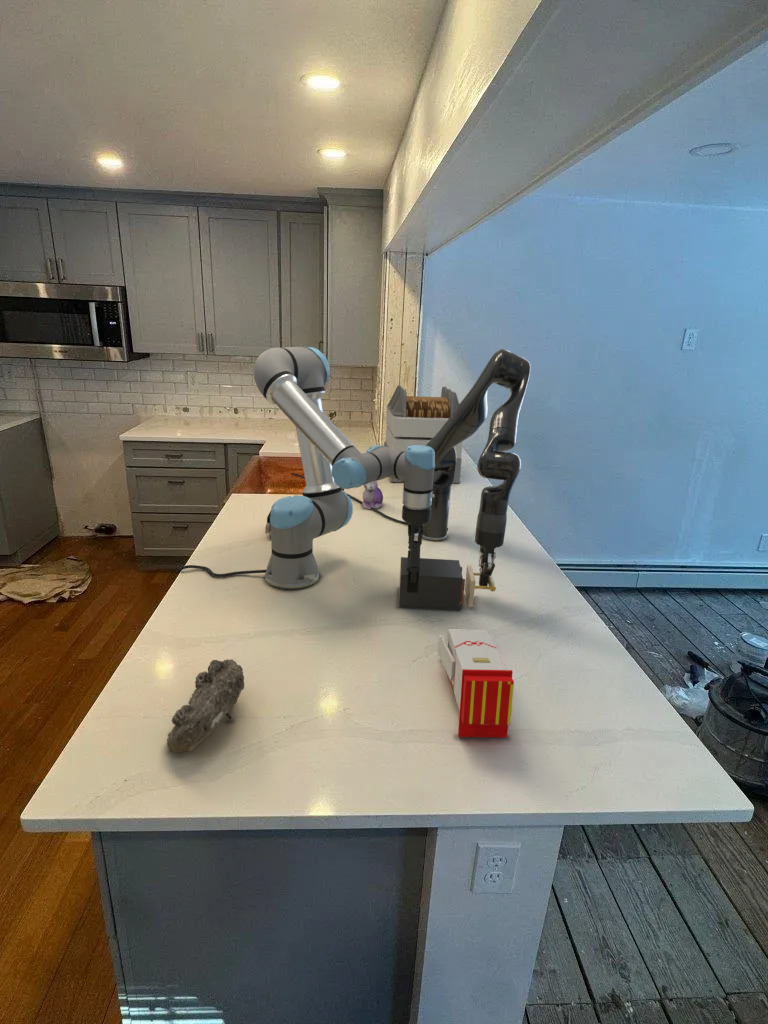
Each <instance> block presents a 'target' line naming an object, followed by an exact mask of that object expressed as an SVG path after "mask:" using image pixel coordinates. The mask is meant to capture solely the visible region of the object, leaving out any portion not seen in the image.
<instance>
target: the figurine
mask: <svg viewBox="0 0 768 1024" xmlns="http://www.w3.org/2000/svg"><path fill="white" fill-rule="evenodd" d="M378 485H379V484H378V480H377V481H374V482H370V483H367V484H364V485H363V488H364V491H363V493H362V500H363V501H362V502H363V504H361V505H362V507H363V509H366V510H372V509H371V507H373V508H374V509H378V508H381V507H382V506H383V501H384V496H383V495H384V494H383V492H382V490H381V489H380V488H379V487H378Z"/></svg>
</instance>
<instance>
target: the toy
mask: <svg viewBox="0 0 768 1024" xmlns="http://www.w3.org/2000/svg"><path fill="white" fill-rule="evenodd" d="M446 640H447V643H446V641H445V639H444V636H443V635H442V634H439V637H438V646H437V656H438V657H439V659H440V661H441V663H442V666H443V668H444V670H445V672H446V674H447V677H448V679H449V681H450V684H451V687H452V690H453V693H454V697H455V701H456V705H457V708H458V711H459V714H458V715H459V716H458V730H457V731H458V732H457V737H458V738H508V731H509V726H510V725H511V717H512V707H513V697H514V696H513V695H514V684H515V680H514V679H513V673H514V671H513V670H512V669H508V667H507V665H506V662H505V661H504V659H503V658H502V655H501V653H500V651H499V649H498V647H497V643H496V639H495V637H494V635H493V634H491V632H490V631H489V629H467V628H466V629H465V628H463V629H461V628H460V629H459V628H448V630H447V639H446Z"/></svg>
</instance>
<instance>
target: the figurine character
mask: <svg viewBox="0 0 768 1024" xmlns="http://www.w3.org/2000/svg"><path fill="white" fill-rule="evenodd" d="M270 516H271V510H269V512H268V515H267V517H266V524H265V533H266V534H269V536H270V538H271V523H270Z"/></svg>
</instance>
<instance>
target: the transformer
mask: <svg viewBox="0 0 768 1024" xmlns="http://www.w3.org/2000/svg"><path fill="white" fill-rule="evenodd" d="M440 393H441V394H440V396H415V395H414V396H413V395H412V396H411V395H407V394H408V393H407V390H406V389H404V388H403V387H402V385H399V384H398V385H397V386H396V388H395V390H394V392H393V394H392V395H391V398H390V400H389V402H388V404H387V405H386V413H385V414H386V415H385V423H386V428H385V438H384V442H383V446H386V447H389V448H393V449H397V450H402V451H406V448H407V447H408V446H411V445H422V446H423V445H425V446H426V444H427V443H428V442H429V441H430V440H431V439H432V438H433V437H434V436H435V435H436V434H437V433H438V432H439V431H440V429H441V428H442V427H443V425H444V424H445V423H446V422H447V420H448V419H449V418H450V416H451V415H452V413H453V412H454V410H455V409H456V408H457V406H458V405H459V404H460V402H459V398H458V395H457V392H455V391H453V390H452V389H451V388H447V386H442V387H441V392H440ZM463 442H464V441H462V442H461V443H459V444H457V445H456V446H454V448H455V450H456V468H455V475H454V481H453V484H455V483H456V484H459V483H461V472H462V461H463V460H462V453H463ZM388 478H389V480H390V482H391V483H402V482H403V480H398V479H395V478H391V477H388Z"/></svg>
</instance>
